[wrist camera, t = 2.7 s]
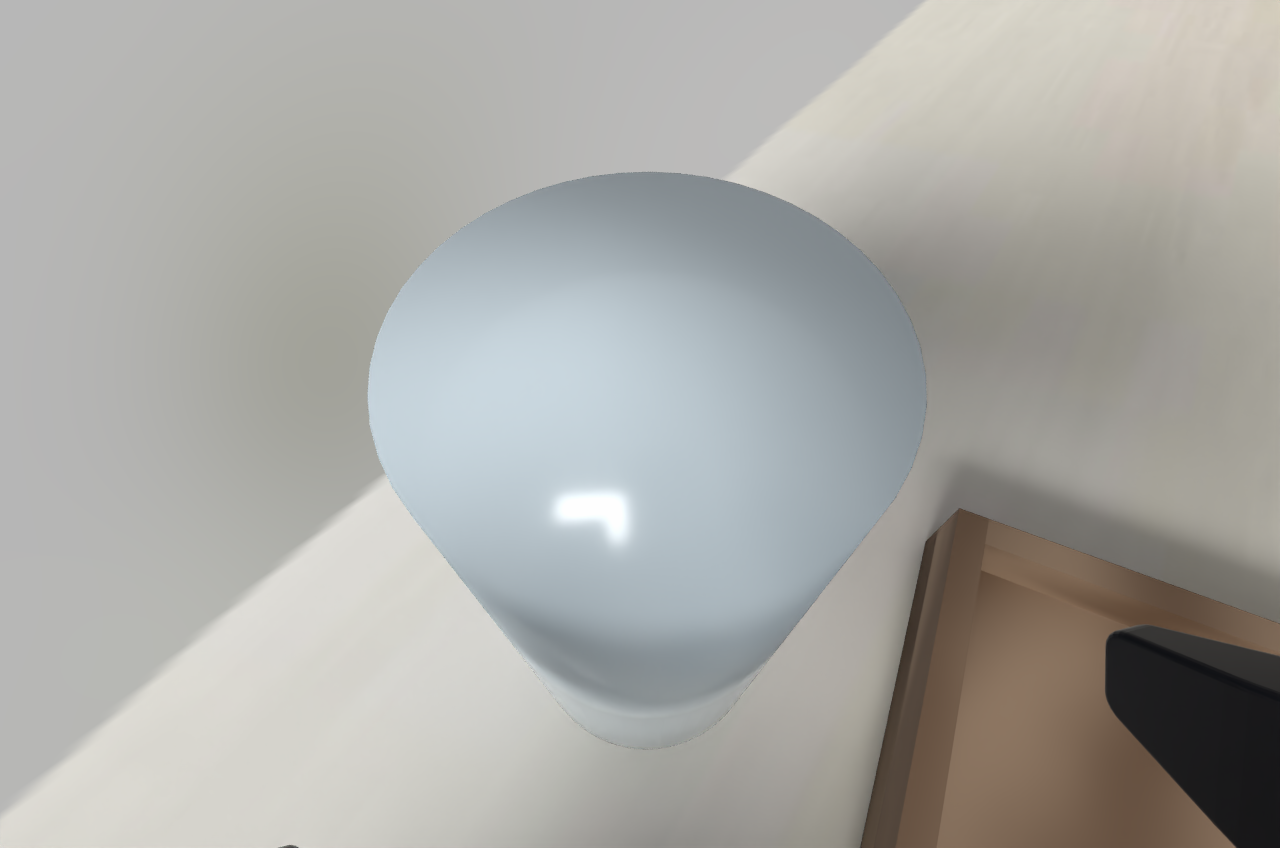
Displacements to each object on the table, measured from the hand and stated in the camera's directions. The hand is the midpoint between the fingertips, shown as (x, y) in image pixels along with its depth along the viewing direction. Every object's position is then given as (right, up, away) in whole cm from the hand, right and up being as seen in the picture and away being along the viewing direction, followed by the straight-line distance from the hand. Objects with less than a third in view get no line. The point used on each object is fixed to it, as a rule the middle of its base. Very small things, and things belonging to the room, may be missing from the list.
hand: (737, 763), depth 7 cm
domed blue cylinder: (-1, -2, +12) cm, 12 cm away
